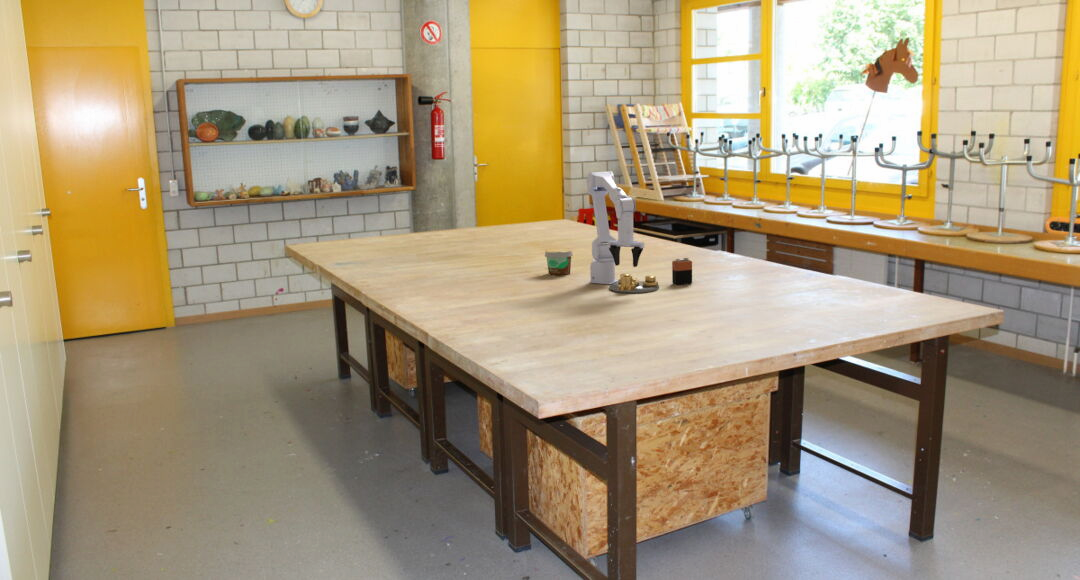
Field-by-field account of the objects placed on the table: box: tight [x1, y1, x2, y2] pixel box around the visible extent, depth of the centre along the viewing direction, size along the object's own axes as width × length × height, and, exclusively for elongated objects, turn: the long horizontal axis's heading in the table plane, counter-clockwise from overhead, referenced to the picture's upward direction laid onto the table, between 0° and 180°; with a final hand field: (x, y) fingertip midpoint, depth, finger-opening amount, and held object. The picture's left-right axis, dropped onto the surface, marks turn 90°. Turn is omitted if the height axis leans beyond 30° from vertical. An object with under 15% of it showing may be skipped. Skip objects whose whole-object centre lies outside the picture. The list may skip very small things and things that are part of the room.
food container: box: [544, 250, 573, 277], centre depth 377 cm, size 12×6×10 cm, turn 68°
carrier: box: [609, 273, 660, 295], centre depth 344 cm, size 19×19×4 cm
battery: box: [671, 257, 693, 286], centre depth 349 cm, size 4×7×10 cm, turn 105°
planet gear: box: [618, 275, 635, 291], centre depth 338 cm, size 7×7×5 cm
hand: (626, 265), depth 337 cm, fingers open, 7 cm apart
